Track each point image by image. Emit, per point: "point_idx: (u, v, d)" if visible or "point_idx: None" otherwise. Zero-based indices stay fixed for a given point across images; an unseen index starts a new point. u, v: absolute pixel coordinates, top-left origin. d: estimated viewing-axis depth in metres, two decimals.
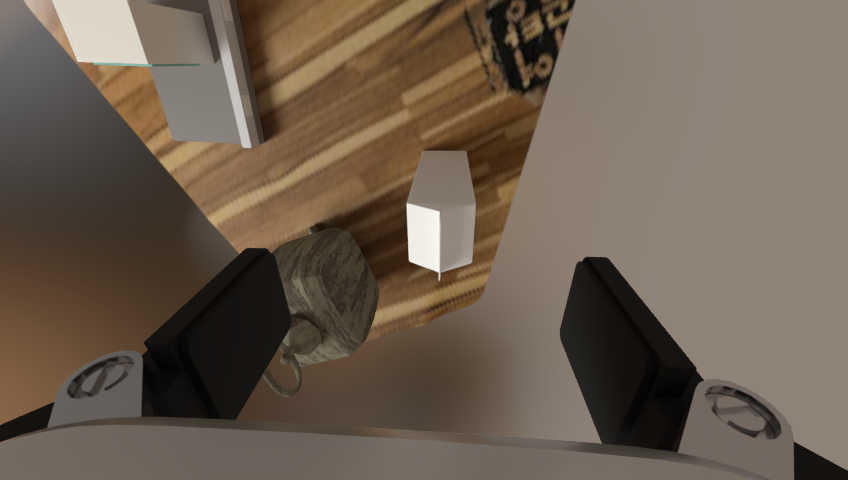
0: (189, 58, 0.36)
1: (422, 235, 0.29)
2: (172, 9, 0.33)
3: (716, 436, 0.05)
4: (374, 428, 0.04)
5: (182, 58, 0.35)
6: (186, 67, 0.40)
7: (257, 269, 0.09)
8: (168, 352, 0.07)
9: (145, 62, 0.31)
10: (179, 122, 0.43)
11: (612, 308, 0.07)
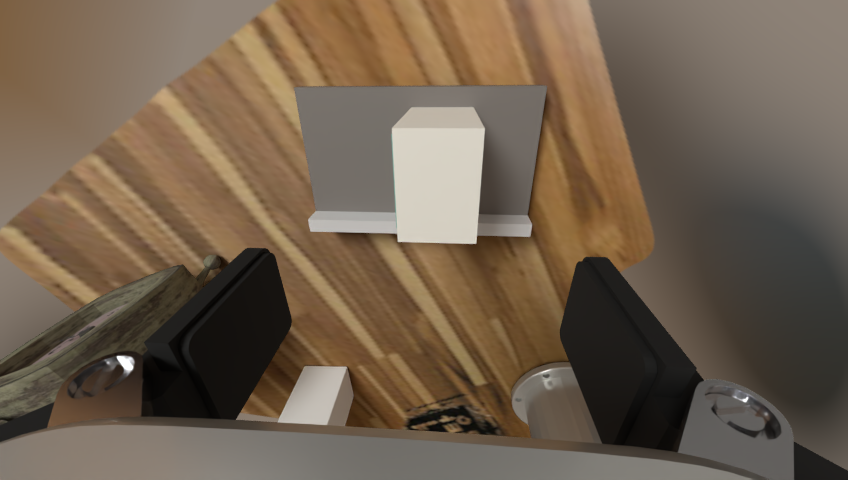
0: None
1: None
2: None
3: (716, 436, 0.05)
4: (374, 428, 0.04)
5: None
6: None
7: (257, 269, 0.09)
8: (168, 352, 0.07)
9: (399, 239, 0.21)
10: (326, 109, 0.27)
11: (612, 308, 0.07)
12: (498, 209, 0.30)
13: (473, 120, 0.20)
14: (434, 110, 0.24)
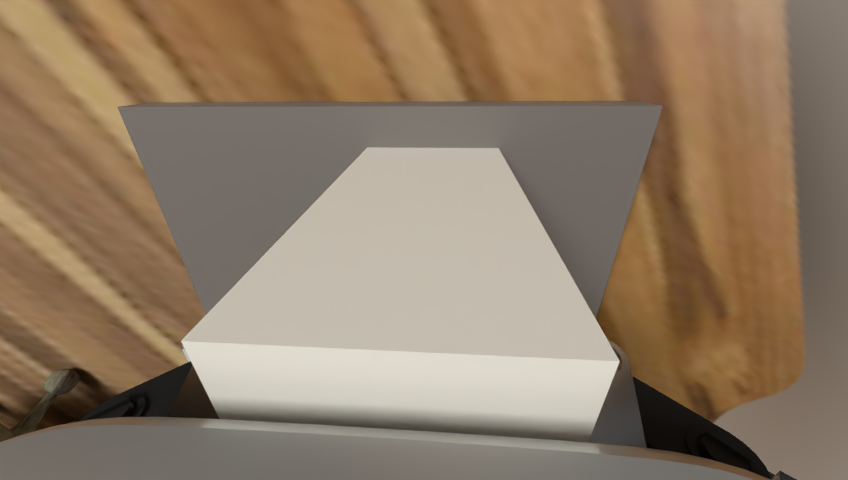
0: None
1: None
2: None
3: None
4: (374, 428, 0.04)
5: None
6: None
7: None
8: None
9: None
10: (193, 151, 0.13)
11: None
12: None
13: (525, 238, 0.06)
14: (412, 163, 0.11)
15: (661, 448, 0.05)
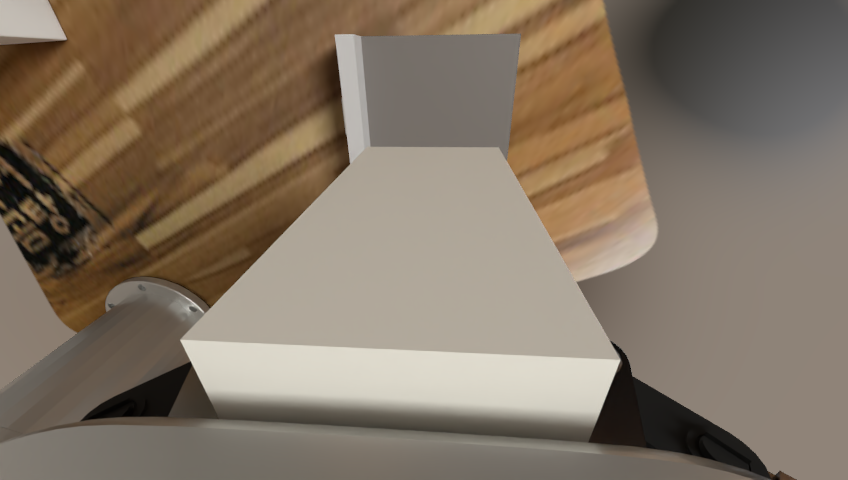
0: None
1: None
2: None
3: None
4: (374, 428, 0.04)
5: None
6: None
7: None
8: None
9: None
10: (491, 74, 0.23)
11: None
12: None
13: (526, 236, 0.06)
14: (412, 162, 0.11)
15: (661, 448, 0.05)
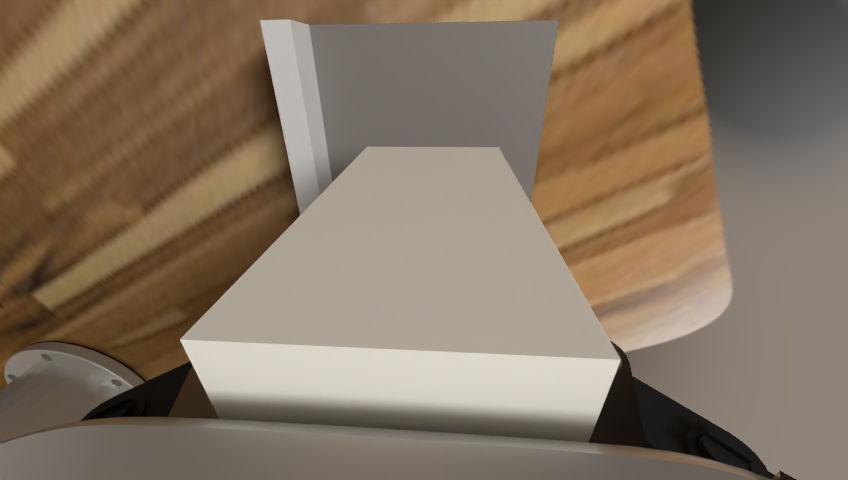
0: None
1: None
2: None
3: None
4: (374, 428, 0.04)
5: None
6: None
7: None
8: None
9: None
10: (511, 84, 0.15)
11: None
12: None
13: (526, 236, 0.06)
14: (412, 162, 0.11)
15: (661, 448, 0.05)
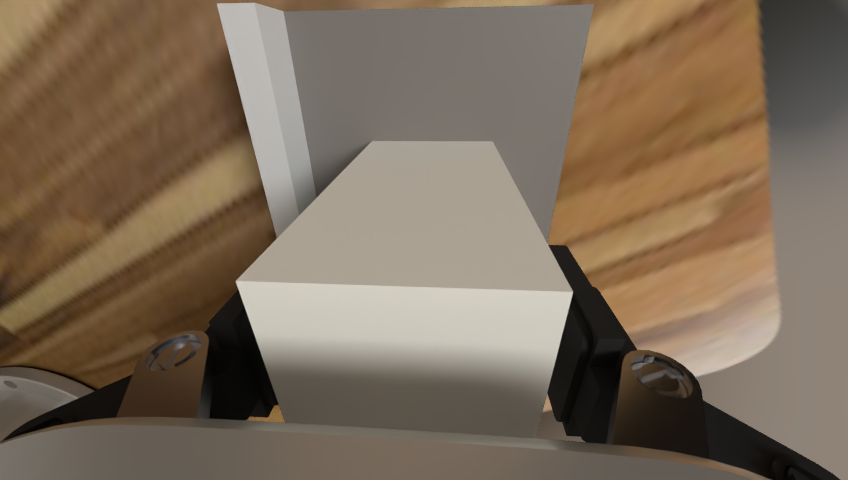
0: None
1: None
2: None
3: (643, 403, 0.05)
4: (374, 428, 0.04)
5: None
6: None
7: None
8: (230, 331, 0.07)
9: None
10: (532, 84, 0.12)
11: None
12: None
13: (510, 211, 0.07)
14: (413, 154, 0.12)
15: None
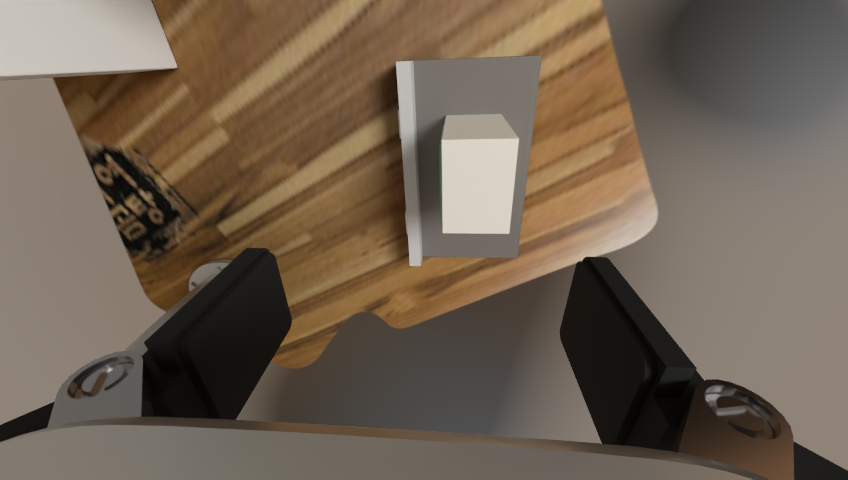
0: None
1: None
2: None
3: (715, 436, 0.05)
4: (374, 428, 0.04)
5: None
6: None
7: (257, 269, 0.09)
8: (168, 352, 0.07)
9: (444, 230, 0.25)
10: (518, 88, 0.29)
11: (612, 308, 0.07)
12: (426, 236, 0.37)
13: (506, 129, 0.24)
14: (468, 118, 0.28)
15: None
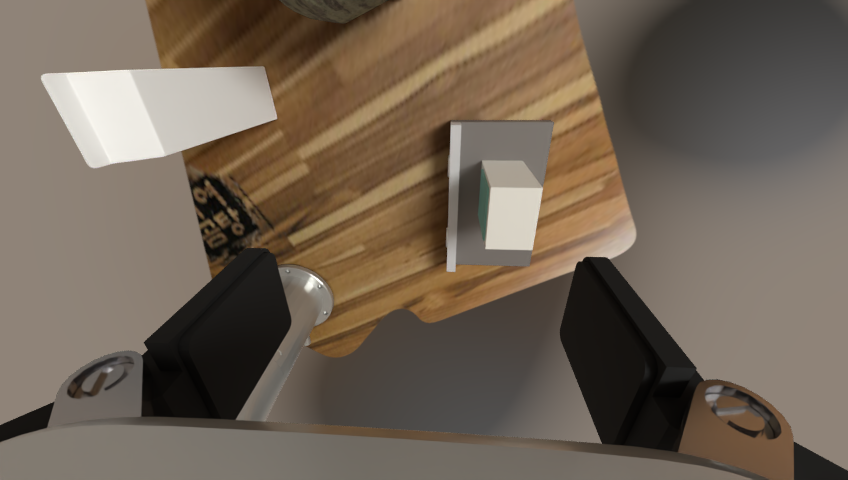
0: None
1: (123, 122, 0.23)
2: None
3: (716, 436, 0.05)
4: (374, 428, 0.04)
5: None
6: None
7: (257, 269, 0.09)
8: (168, 352, 0.07)
9: (486, 247, 0.35)
10: (535, 143, 0.39)
11: (612, 308, 0.07)
12: (459, 248, 0.47)
13: (531, 178, 0.34)
14: (500, 165, 0.39)
15: None
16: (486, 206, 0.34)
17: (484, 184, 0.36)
